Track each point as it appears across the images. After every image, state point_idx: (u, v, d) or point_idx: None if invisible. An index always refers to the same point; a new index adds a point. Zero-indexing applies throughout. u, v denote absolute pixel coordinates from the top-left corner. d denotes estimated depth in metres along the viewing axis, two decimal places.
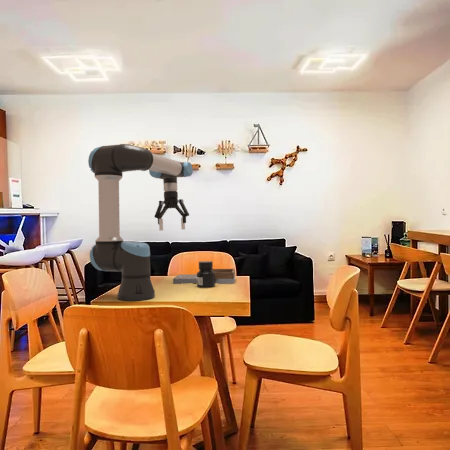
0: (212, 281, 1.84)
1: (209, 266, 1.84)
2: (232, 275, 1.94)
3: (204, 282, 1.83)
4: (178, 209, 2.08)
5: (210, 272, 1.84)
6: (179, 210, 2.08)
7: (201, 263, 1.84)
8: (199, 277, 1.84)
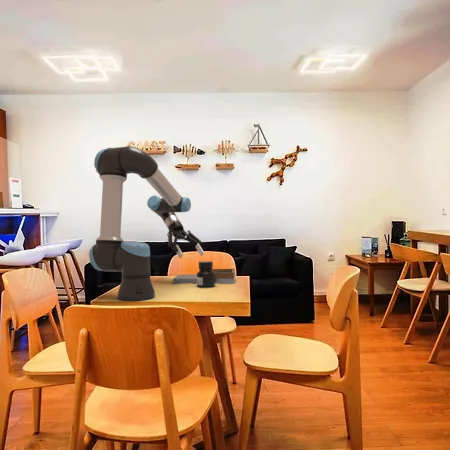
0: (212, 281, 1.84)
1: (209, 266, 1.84)
2: (232, 275, 1.94)
3: (204, 282, 1.83)
4: (191, 237, 2.03)
5: (210, 272, 1.84)
6: (192, 238, 2.03)
7: (201, 263, 1.84)
8: (199, 277, 1.84)
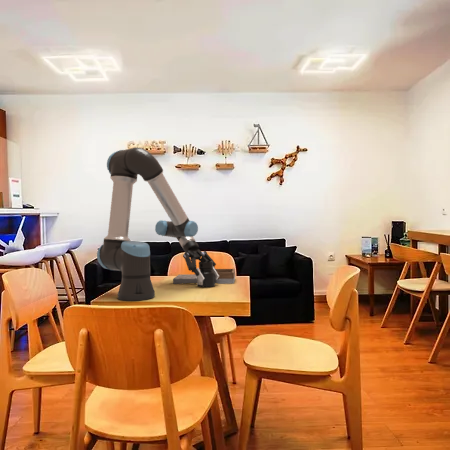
0: (212, 281, 1.84)
1: (209, 266, 1.84)
2: (232, 275, 1.94)
3: (204, 282, 1.83)
4: (206, 259, 1.93)
5: (210, 272, 1.84)
6: (207, 260, 1.93)
7: (201, 263, 1.84)
8: None
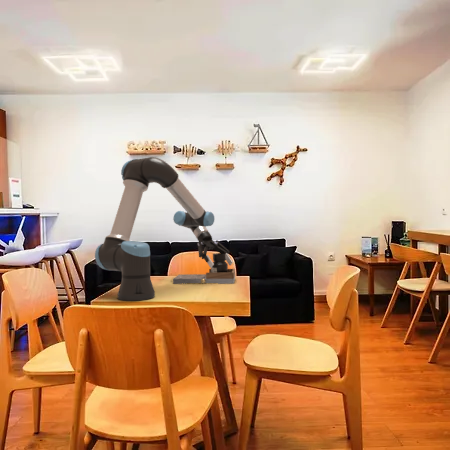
0: (225, 271, 2.00)
1: (222, 257, 2.00)
2: (232, 275, 1.94)
3: (218, 272, 1.98)
4: (220, 247, 2.09)
5: (223, 263, 2.00)
6: (221, 248, 2.09)
7: (215, 255, 2.00)
8: (213, 268, 1.99)
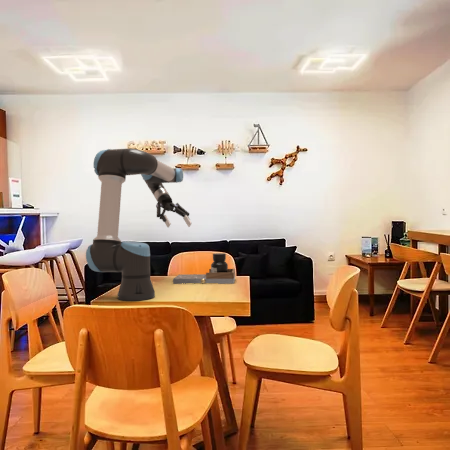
0: (225, 271, 2.00)
1: (222, 257, 2.00)
2: (232, 275, 1.94)
3: (218, 272, 1.98)
4: (179, 209, 2.10)
5: (223, 263, 2.00)
6: (180, 210, 2.10)
7: (215, 255, 2.00)
8: (213, 268, 1.99)
